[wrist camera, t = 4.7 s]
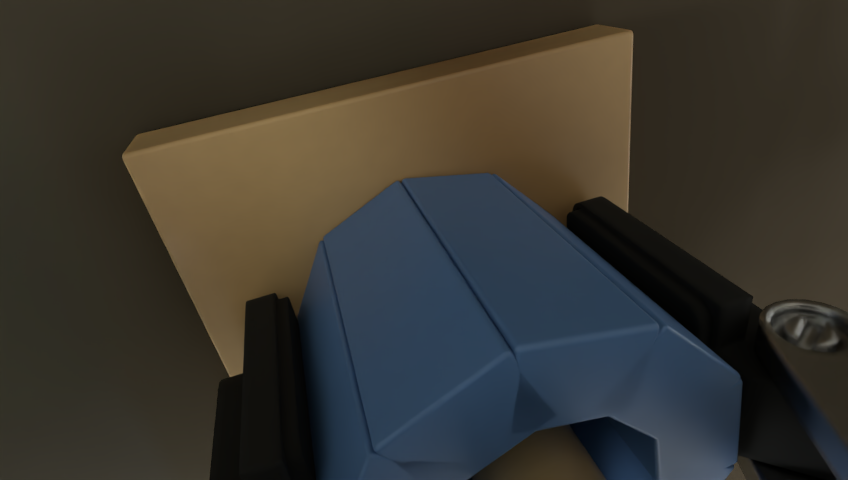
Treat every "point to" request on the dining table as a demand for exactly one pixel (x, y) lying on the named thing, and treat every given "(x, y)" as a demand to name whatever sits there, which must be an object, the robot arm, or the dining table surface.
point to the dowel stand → (387, 176)
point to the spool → (496, 346)
